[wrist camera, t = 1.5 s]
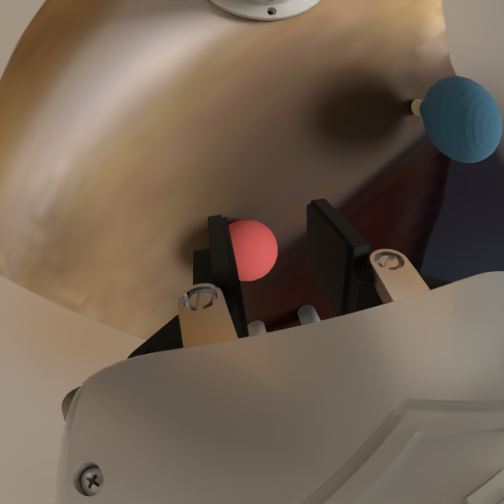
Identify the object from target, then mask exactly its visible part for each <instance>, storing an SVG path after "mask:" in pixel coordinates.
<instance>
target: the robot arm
mask: <svg viewBox="0 0 504 504" xmlns="http://www.w3.org/2000/svg"><path fill="white" fill-rule="evenodd" d="M210 1H211V2H212V3H213V4H215V5H216V6H218V7H219V8H221V9H222V10H225V11H227V12H229V13H231V14H234V15H236V16H240V17H243V18H247V19H254V20H260V21H275V20H283V19H288V18H291V17H295V16H298V15H300V14H302V13H304V12H306V11H308V10H309V9H311V8H312V7H314V6H315V5H316V4H317V3H318V2H319V1H320V0H210ZM268 11H270V12H272V15H269V14H268V13H267V12H268ZM208 226H209V241H210V248H207V249H201V250H196V251H194V256H193V286H190V287H189V288H187V289H185V290H184V291H183V292H182V293H181V294H180V295H179V297H178V300H177V306H178V313H179V314H178V315H177V316H175V317H174V318H173V319H172V320H171V321H169V322H168V323H167V324H166V325H165V326H163V327H162V328H161V329H160V330H159V331H158V332H156V333H155V334H154V335H153V336H152V337H150V338H149V339H148V340H147V341H146V342H144V343H143V344H142V345H141V346H140V347H138V348H137V349H136V350H135V351H134V352H132V354H131V355H130V356H129V357H128V358H127V359H126V360H123V361H120V362H117V363H115V364H112V365H110V366H108V367H105V368H103V369H101V370H99V371H98V372H96V373H95V374H93V375H91V376H90V377H88V378H87V379H86V380H85V381H84V382H83V383H82V385H81V386H80V387H78V388H76V389H74V390H72V391H71V392H69V393H68V394H67V395H66V396H65V398H64V399H63V402H62V412H63V416H64V420H65V426H64V430H63V435H62V440H61V446H60V452H59V459H58V469H57V482H56V504H504V272H487V273H483V274H479V275H475V276H472V277H469V278H466V279H462V280H459V281H456V282H450V281H446V280H443V279H439V278H436V277H432V276H429V275H425V274H422V273H418V272H417V271H416V270H415V268H414V267H413V266H412V264H411V263H410V262H409V260H408V259H407V258H406V257H405V256H404V255H403V254H401V253H400V252H398V251H395V250H390V249H380V250H376V251H374V250H373V249H372V248H371V246H370V245H369V244H368V243H367V242H366V241H365V240H364V238H363V237H362V236H361V235H360V234H359V233H358V232H357V231H356V230H355V229H354V228H353V227H352V226H351V225H350V224H349V223H348V222H347V221H346V220H345V219H344V218H343V217H342V215H341V214H340V213H339V212H338V211H337V210H336V209H335V208H334V207H333V206H332V205H331V204H330V203H329V202H328V201H327V200H326V199H318V200H312V201H311V203H310V204H308V205H307V258H308V264H309V267H310V269H311V270H312V272H313V274H314V276H315V278H316V279H317V281H318V283H319V285H320V287H321V288H322V290H323V292H324V294H325V296H326V298H327V299H328V301H329V303H330V305H331V307H332V309H333V310H334V312H335V314H336V316H337V317H335V318H331V319H327V320H323V321H319V322H315V323H311V324H306V325H302V326H297V327H293V328H288V329H284V330H279V331H274V332H269V333H265V334H260V335H254V336H249V333H248V327H247V321H246V316H245V310H244V304H243V298H242V292H241V286H240V280H239V275H238V269H237V264H236V259H235V254H234V250H233V245H232V240H231V235H230V230H229V225H228V220H227V217H225V218H222V217H221V215H216V216H211V217H208Z"/></svg>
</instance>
